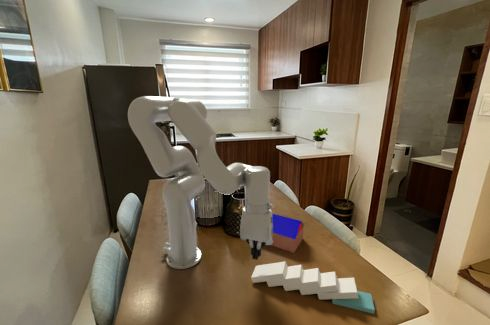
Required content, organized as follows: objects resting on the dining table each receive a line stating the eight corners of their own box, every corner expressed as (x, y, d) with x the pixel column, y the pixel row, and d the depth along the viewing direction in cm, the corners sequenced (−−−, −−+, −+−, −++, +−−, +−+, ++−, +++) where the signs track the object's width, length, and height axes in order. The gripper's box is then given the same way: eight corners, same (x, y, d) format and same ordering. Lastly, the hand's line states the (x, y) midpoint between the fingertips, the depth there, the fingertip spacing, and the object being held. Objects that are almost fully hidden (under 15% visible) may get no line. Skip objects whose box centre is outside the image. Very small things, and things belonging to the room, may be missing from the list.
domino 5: (317, 293, 70) (357, 292, 66) (317, 279, 75) (354, 277, 72) (319, 299, 70) (358, 298, 66) (319, 285, 76) (355, 283, 72)
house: (262, 227, 111) (262, 204, 108) (303, 239, 101) (305, 214, 99) (249, 239, 101) (250, 214, 98) (294, 254, 91) (296, 227, 89)
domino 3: (282, 285, 73) (317, 281, 69) (285, 272, 79) (318, 267, 75) (285, 290, 73) (320, 287, 69) (287, 277, 79) (320, 273, 75)
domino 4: (299, 289, 72) (335, 285, 68) (300, 276, 77) (334, 271, 73) (301, 295, 72) (338, 291, 68) (303, 281, 77) (337, 276, 73)
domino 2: (266, 281, 75) (299, 277, 71) (270, 269, 80) (301, 264, 76) (268, 286, 75) (301, 282, 71) (272, 274, 81) (303, 269, 76)
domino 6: (332, 299, 69) (374, 310, 65) (332, 285, 74) (371, 293, 71) (332, 305, 69) (373, 315, 66) (331, 290, 75) (370, 299, 71)
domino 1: (251, 277, 76) (282, 273, 72) (256, 265, 82) (285, 261, 78) (253, 282, 77) (284, 279, 72) (258, 270, 82) (287, 266, 78)
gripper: (282, 204, 74) (280, 255, 79) (238, 198, 79) (238, 246, 83) (278, 214, 67) (275, 269, 72) (230, 207, 72) (230, 259, 76)
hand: (256, 257), depth 78 cm, fingers closed
